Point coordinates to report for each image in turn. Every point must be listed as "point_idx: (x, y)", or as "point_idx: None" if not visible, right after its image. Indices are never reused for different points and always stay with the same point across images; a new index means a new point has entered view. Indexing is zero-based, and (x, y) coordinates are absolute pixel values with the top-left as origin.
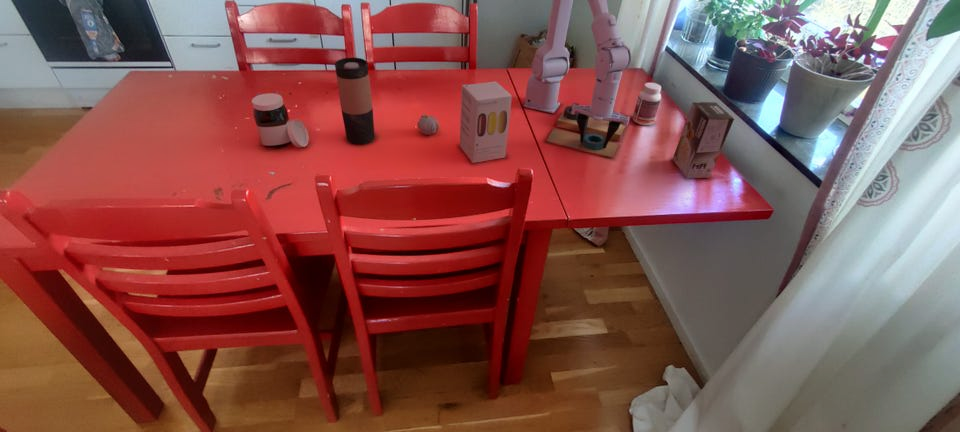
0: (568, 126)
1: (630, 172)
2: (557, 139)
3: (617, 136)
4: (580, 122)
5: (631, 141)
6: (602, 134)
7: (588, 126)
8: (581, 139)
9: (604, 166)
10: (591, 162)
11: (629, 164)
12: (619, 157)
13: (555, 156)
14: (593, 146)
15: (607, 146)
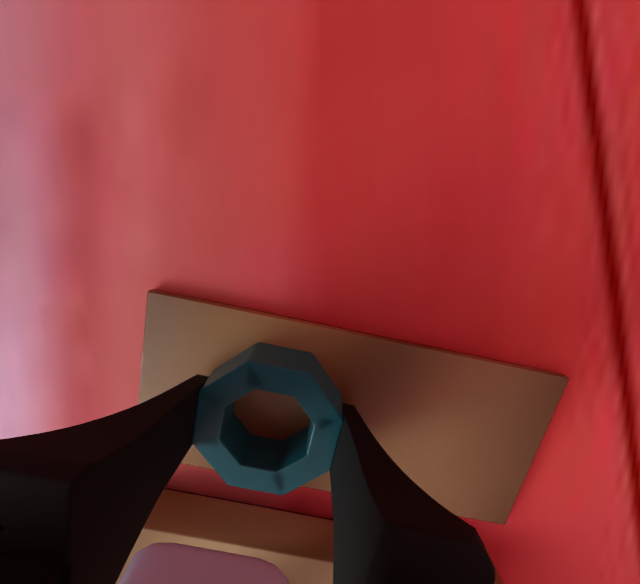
0: None
1: (20, 151)
2: (493, 408)
3: None
4: (434, 524)
5: None
6: (226, 518)
7: (313, 569)
8: (353, 413)
9: (188, 178)
10: (273, 205)
11: (43, 251)
12: (112, 317)
13: (509, 213)
14: (269, 355)
15: None
